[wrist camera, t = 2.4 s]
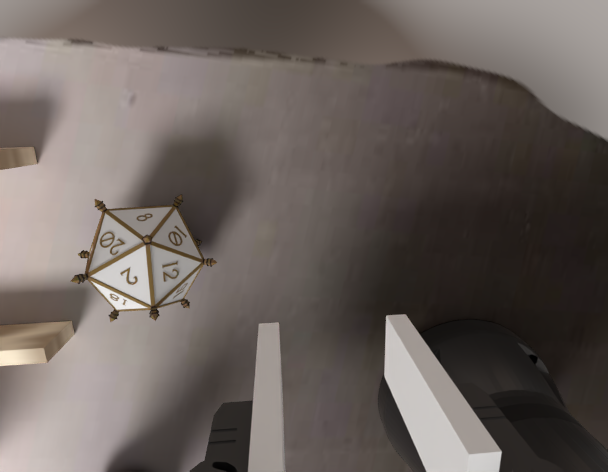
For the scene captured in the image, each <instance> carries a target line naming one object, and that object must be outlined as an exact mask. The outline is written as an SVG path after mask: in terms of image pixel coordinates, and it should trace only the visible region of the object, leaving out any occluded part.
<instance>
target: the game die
mask: <svg viewBox="0 0 608 472" xmlns="http://www.w3.org/2000/svg"><path fill="white" fill-rule="evenodd" d="M175 198H176V199H175V200H174V204H173V205H165V206H149V207H133V208H118V209H106V207H105V204H103V201H102V202H101V201H99V200H96V199H95V207H97V208H98V210H100V211H102V215H101V218H100V221H99V224H98V227H97V230H96V233H95V236H94V239H93V242H92V245H91V248H90V251H89V252H88V251H84V250H83V251H82V252H81V253H79V254H78V255H79V256H80V257H81V258H88V260H87V266H86V271H85V274H79V275H75V277H74V278H73V279H72V280H71V282H75V283H78V284H80V283H81V282H82V283H83V282H84V281H85V280H88V281H89V282H90V283H91V284H92V285H93V286H94V287H95V289H96V290H97V291H98V292H99V293H100V294H101V295H102V296H103V297H104V298H105V299H106V300H107V302H108V303H109V304H110V305H111V306H112V307H113V308H114V311H113V312H111V314H110V315H109V316H110V322H111V321H113V320H115V319H117V316H119V311H138V310H151V311H150V313H149V314H150V317H151V318H152V319H154V320H155V321H156V319H157V317H158V316H160V315H159V314H158V313H159V311H158V310H157V308H161V307H164V306H167V305H170V304H174V303H177V302H181V304H182V305H183V307H184V308H185V307H186V308H189V303H190V302H188V300H186V299H184V297H185V296H186V294H187V292H188V291H189V289H190V287H191V285H192V284H193V282H194V280H195V279H196V277H197V275H198V273H199V272H200V270H201V268H202V267H203V265H204V264H205V265H207V266H211V267H212V265H214V264H216V263H217V262H216V261H215V260H213V258H212V259H210V258H208V259H206V260H205V259H204V257H203V255H202V253H201V251H200V250H199V248H198V246H199V245H200V244H201V242H202V241H200V240H198V239H196V240H194V238H193V236H192V234H191V232H190V230H189V228H188V226H187V224H186V222H185V221H184V219H183V217H182V215H181V213H180V211H179V209H178V206H179V205H181V203H182V202H183V200H182V195H180V196H178V197H175Z"/></svg>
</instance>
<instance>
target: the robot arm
mask: <svg viewBox="0 0 608 472" xmlns="http://www.w3.org/2000/svg"><path fill="white" fill-rule="evenodd" d="M378 407H379V413H380V417H381V420H382V423H383V425H384V428H385V431H386V433H387V436H388V438H389V440H390V442H391V444H392V446H393V447H394V449H395V450H396V452H397V453H398V454H399V455H400V456H401V458H402V459H403V460H404V461H405V462H406V463H407V464H408V465H409V467H410V468H411V469H412V470H413V471H414V472H608V450H607V449H606V448H605V447H604V446H603V445H602V444H601V443H600V442H599V441H597V440H596V439H595V438H594V437H593V436H592V435H591V434H590V433H589V432H588V431H587V430H586V429H585V428H584V427H583V426H582V425H581V424H580V423H579V422H578V421H576V419H575V418H574V417H573V416H572V415H571V414H570V412H569V410H568V408H567V407H566V405H565V403H564V401H563V399H562V397H561V395H560V393H559V391H558V389H557V387H556V385H555V383H554V381H553V379H552V378H551V376H550V374H549V372H548V370H547V368H546V366H545V364H544V363H543V361H542V360H541V358H540V357H539V356H538V354H537V353H536V352H535V351H534V350H533V349H532V348H531V347H530V346H529V345H528V344H526V343H525V342H524V341H523V340H522V339H521V338H520V337H518V336H517V335H516V334H515V333H513V332H512V331H510V330H509V329H507V328H505V327H503V326H501V325H498V324H495V323H492V322H488V321H483V320H458V321H452V322H448V323H444V324H441V325H438V326H436V327H433V328H431V329H429V330H427V331H425V332H423V333H421V334H419V333H418V331H417V330H416V328H415V327H414V326H413V324H412V323H411V321H410V320H409V318H408V317H407V316H406V314H402V315H386V340H385V372H384V375H383V378H382V381H381V384H380V388H379V394H378ZM190 472H285V450H284V420H283V391H282V370H281V352H280V333H279V322H278V323H263V324H259V328H258V341H257V355H256V369H255V382H254V396H253V401H243V402H230V403H223V404H222V405H221V407H220V408H219V409H218V411H217V412H216V414H215V415H214V417H213V422H212V427H211V433H210V437H209V442H208V447H207V451H206V456H205V461H203V462H201V463H199V464H198V465H197V466H195V467H194V468H193V469H192V470H190Z"/></svg>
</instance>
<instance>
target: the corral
mask: <svg viewBox="0 0 608 472" xmlns="http://www.w3.org/2000/svg"><path fill="white" fill-rule="evenodd" d="M34 164H37V159H36V155H35V150H34V147H16V148H0V170H3V169H9V168H15V167H22V166H28V165H34ZM73 335H74V329H73V324H72V321H63V322H47V323H31V324H15V325H0V366H7V365H22V364H36V363H48V361H49V360H50V359H51V358H52V357H53V356H54V355H55V354H56V353H57V352H58V351H59V350H60V349H61V348H62V347H63V346H64V345H65V344H66V343H67V342H68V341H69V339H70V338H71V337H72V336H73Z"/></svg>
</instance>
